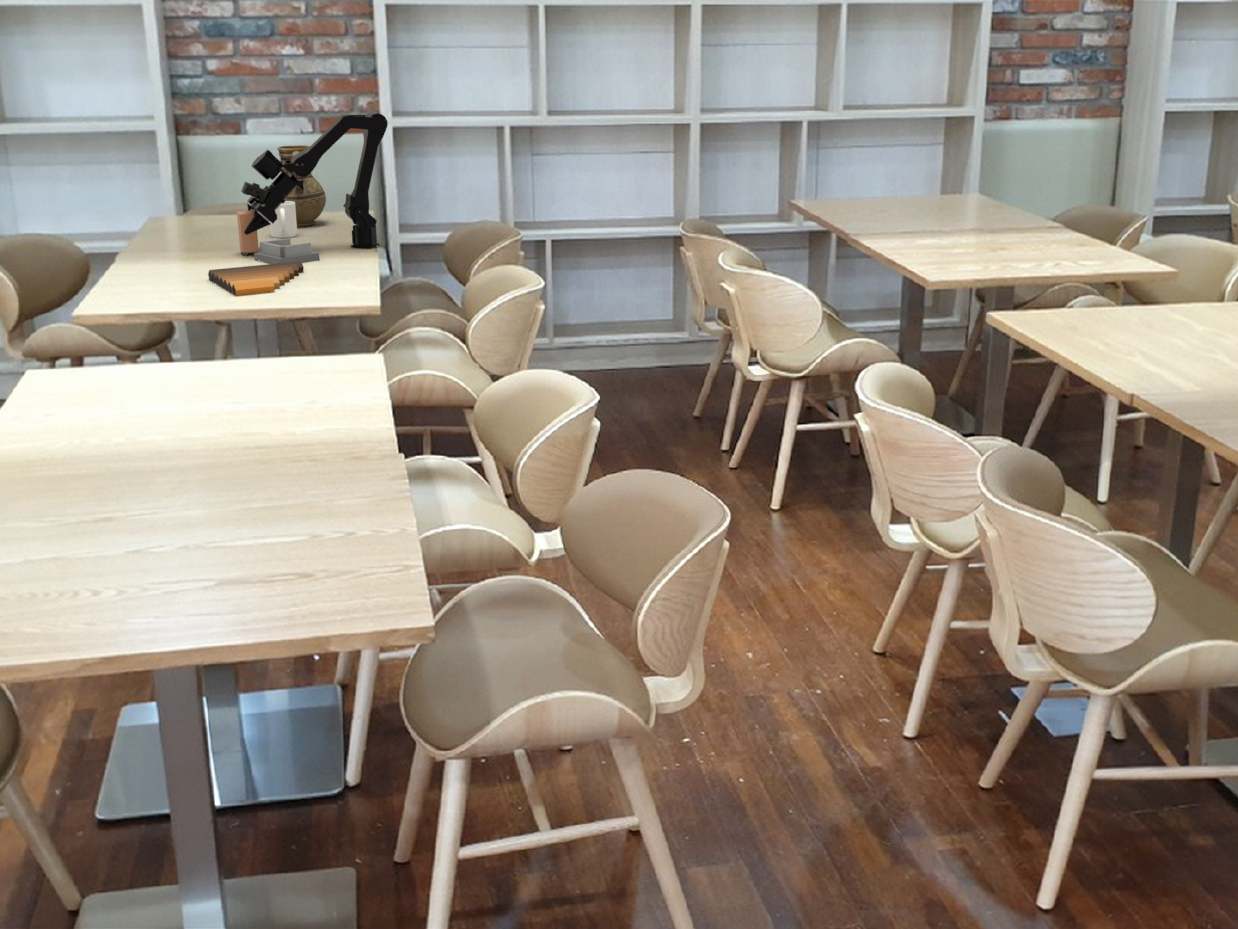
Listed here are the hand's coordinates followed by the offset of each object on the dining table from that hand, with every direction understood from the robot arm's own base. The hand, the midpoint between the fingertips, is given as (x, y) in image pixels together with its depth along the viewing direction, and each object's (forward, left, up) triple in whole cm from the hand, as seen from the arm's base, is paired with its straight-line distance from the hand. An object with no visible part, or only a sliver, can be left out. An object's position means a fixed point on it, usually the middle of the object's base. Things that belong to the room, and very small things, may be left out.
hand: (242, 231), depth 410 cm
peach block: (-1, -1, -7) cm, 7 cm away
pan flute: (-30, +33, -7) cm, 45 cm away
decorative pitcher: (+14, -52, -7) cm, 54 cm away
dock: (-16, +4, -7) cm, 18 cm away
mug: (+6, -30, -7) cm, 31 cm away
